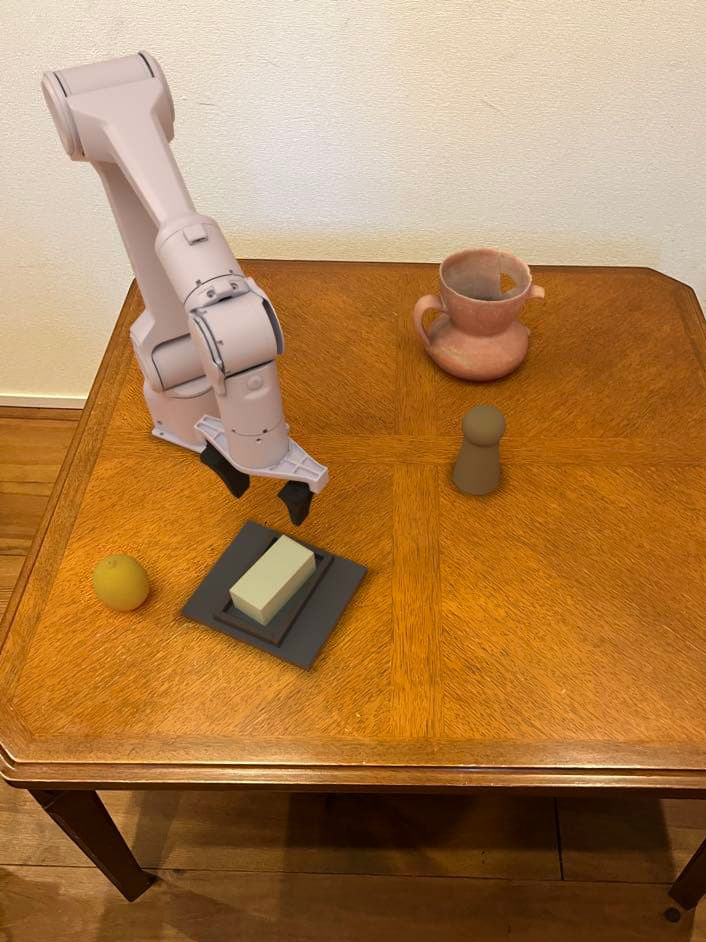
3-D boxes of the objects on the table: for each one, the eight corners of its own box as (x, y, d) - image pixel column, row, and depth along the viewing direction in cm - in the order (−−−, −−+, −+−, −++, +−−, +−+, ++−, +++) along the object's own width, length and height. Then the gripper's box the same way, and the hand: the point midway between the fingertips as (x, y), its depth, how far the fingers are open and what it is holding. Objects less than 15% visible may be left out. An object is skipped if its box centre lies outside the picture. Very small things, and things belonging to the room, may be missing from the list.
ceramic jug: (520, 322, 113) (535, 237, 101) (543, 387, 104) (563, 302, 93) (404, 331, 111) (405, 245, 99) (418, 397, 103) (421, 312, 91)
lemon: (110, 583, 84) (87, 542, 77) (159, 580, 84) (140, 539, 78) (102, 625, 81) (77, 586, 74) (154, 622, 81) (134, 583, 75)
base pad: (182, 615, 82) (177, 605, 80) (249, 524, 89) (246, 513, 87) (308, 672, 78) (306, 662, 76) (367, 572, 85) (367, 561, 84)
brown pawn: (496, 498, 92) (508, 437, 83) (449, 490, 93) (455, 429, 84) (502, 463, 96) (514, 401, 87) (456, 456, 96) (463, 393, 87)
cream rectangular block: (234, 606, 81) (228, 590, 78) (286, 552, 86) (283, 534, 83) (265, 626, 80) (260, 610, 77) (316, 569, 84) (314, 552, 81)
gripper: (342, 414, 68) (348, 505, 79) (215, 362, 72) (238, 456, 83) (300, 464, 65) (312, 553, 76) (168, 406, 68) (199, 498, 79)
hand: (271, 505), depth 79 cm, fingers open, 7 cm apart
